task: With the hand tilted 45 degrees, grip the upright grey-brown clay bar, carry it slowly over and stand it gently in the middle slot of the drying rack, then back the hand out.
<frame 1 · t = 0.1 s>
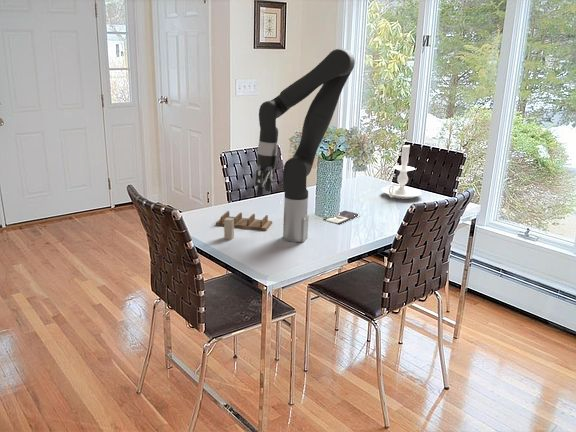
hand: (263, 192, 209), 17 cm above the table, tool pointing down, fingers open, 8 cm apart
candlestick: (398, 198, 276), on the table
drying rack: (244, 224, 225), on the table
clay bar: (229, 238, 208), on the table
chocolate bar: (342, 219, 239), on the table
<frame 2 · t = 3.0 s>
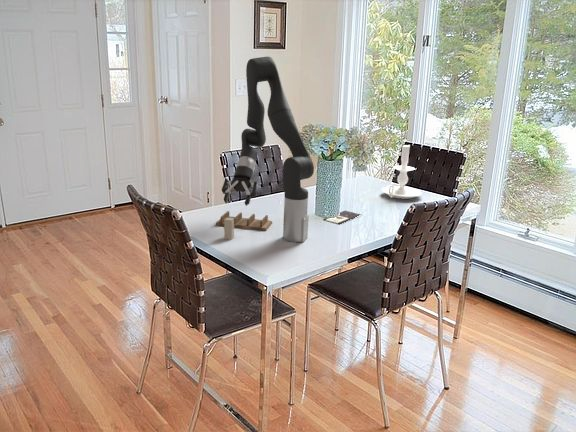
hand: (235, 203, 212), 12 cm above the table, tool tilted 45°, fingers open, 8 cm apart
nothing on the table moved.
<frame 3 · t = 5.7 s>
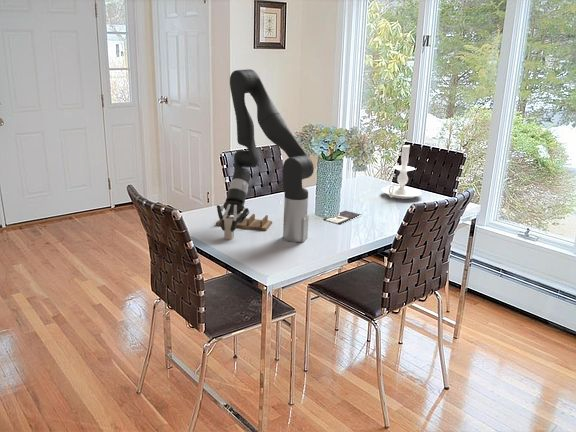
hand: (227, 230, 205), 4 cm above the table, tool tilted 45°, fingers closed on clay bar, 3 cm apart
clay bar: (229, 238, 208), on the table, touching gripper
everything else where it was.
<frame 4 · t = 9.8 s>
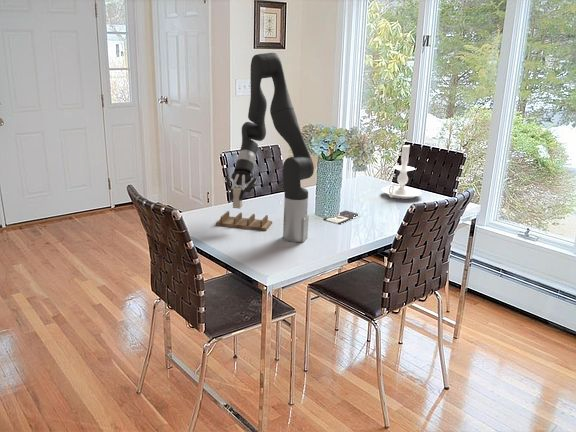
hand: (236, 199, 211), 14 cm above the table, tool tilted 45°, fingers closed on clay bar, 3 cm apart
clay bar: (237, 207, 214), point 10 cm above the table, touching gripper
everything else where it was.
when the fingers open (7 cm above the table, at t = 13.6 s): clay bar drops 1 cm, resting on drying rack.
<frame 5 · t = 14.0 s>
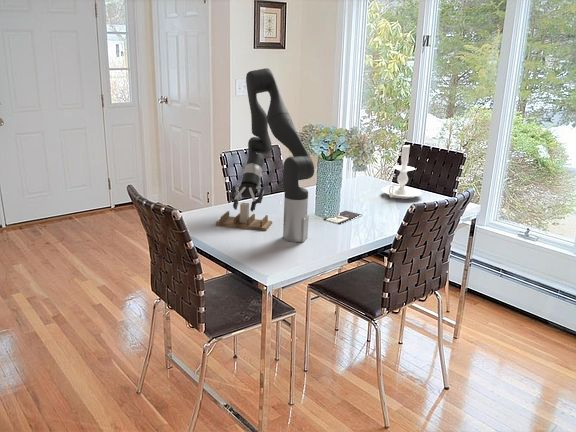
hand: (243, 209, 221), 7 cm above the table, tool tilted 45°, fingers open, 6 cm apart
clay bar: (244, 221, 225), point 1 cm above the table, touching drying rack
everything else where it was.
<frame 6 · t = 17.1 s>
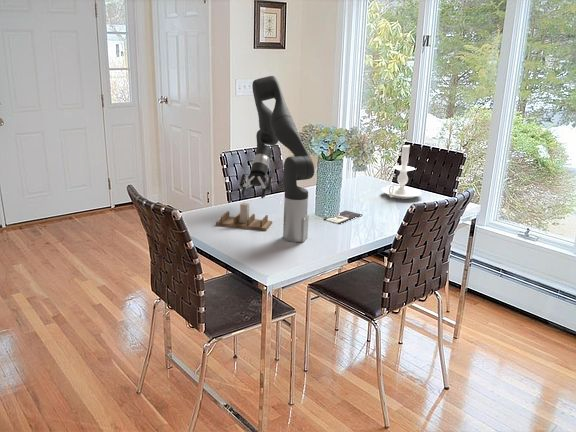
hand: (252, 196, 233), 9 cm above the table, tool tilted 45°, fingers open, 8 cm apart
nothing on the table moved.
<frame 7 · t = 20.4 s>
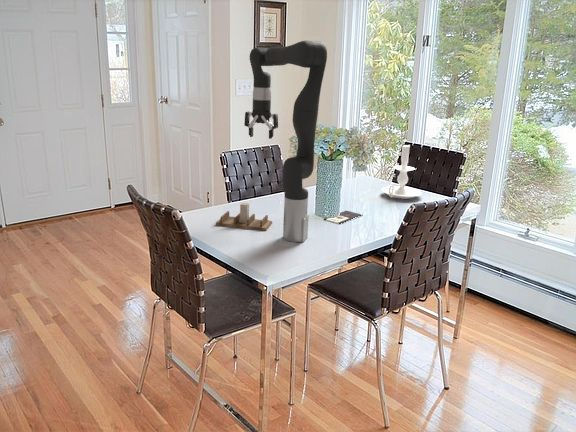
hand: (260, 137, 222), 36 cm above the table, tool pointing down, fingers open, 8 cm apart
nothing on the table moved.
at the end: clay bar 0.1 cm off-centre on the drying rack, point 1.2 cm above the drying rack's base; clay bar tilted 0°; the gripper is holding nothing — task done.
